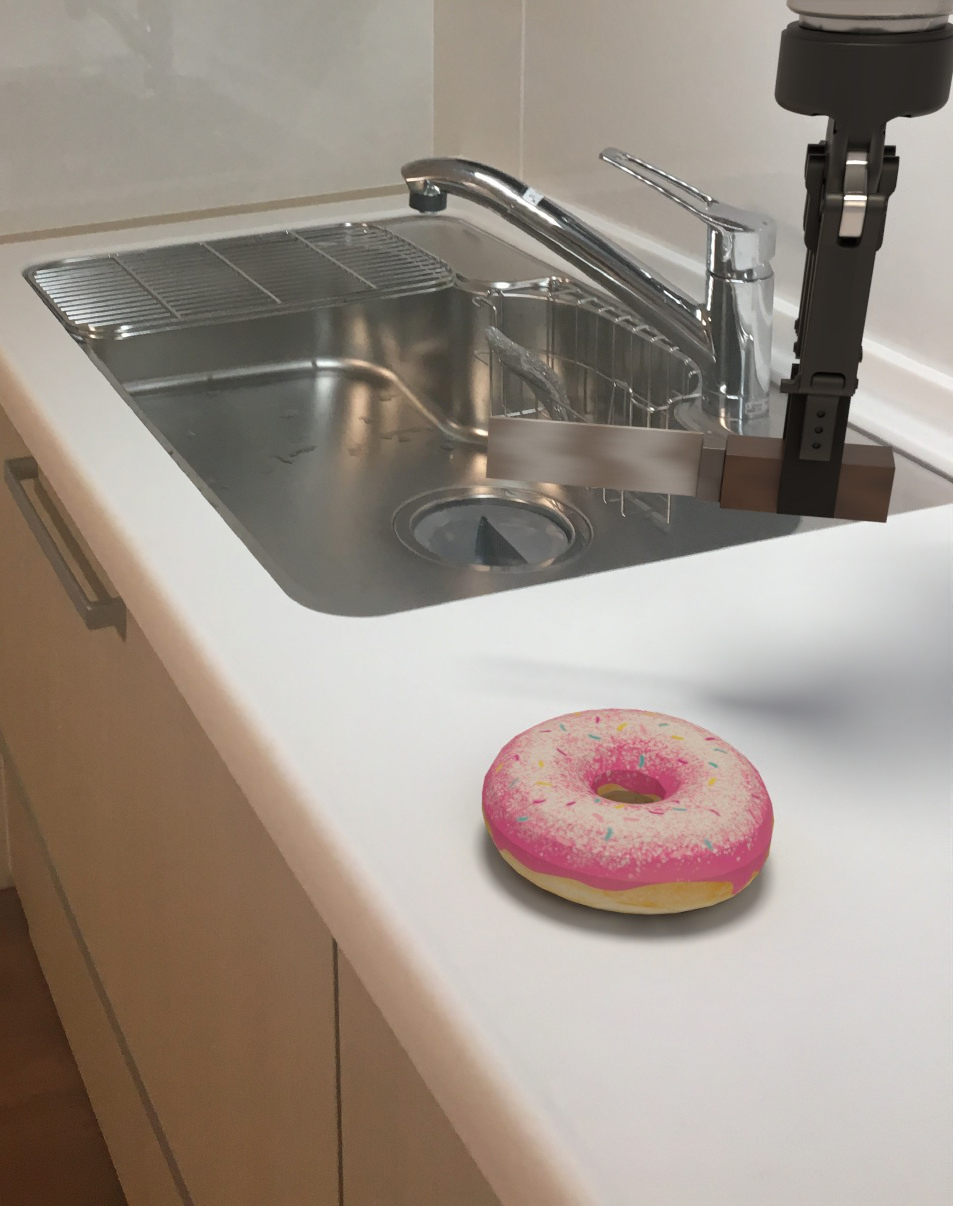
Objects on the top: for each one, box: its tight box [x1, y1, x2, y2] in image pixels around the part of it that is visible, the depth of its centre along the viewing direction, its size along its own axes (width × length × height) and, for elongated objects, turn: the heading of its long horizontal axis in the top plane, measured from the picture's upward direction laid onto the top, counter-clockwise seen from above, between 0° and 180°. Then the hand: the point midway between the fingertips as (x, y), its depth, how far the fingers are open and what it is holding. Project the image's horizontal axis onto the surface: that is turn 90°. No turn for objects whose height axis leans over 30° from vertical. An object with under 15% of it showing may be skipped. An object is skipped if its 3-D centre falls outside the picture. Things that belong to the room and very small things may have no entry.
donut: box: [481, 708, 775, 915], centre depth 78 cm, size 14×13×5 cm
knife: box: [485, 415, 896, 524], centre depth 86 cm, size 20×3×4 cm, turn 72°
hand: (804, 498), depth 85 cm, fingers closed on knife, 3 cm apart
